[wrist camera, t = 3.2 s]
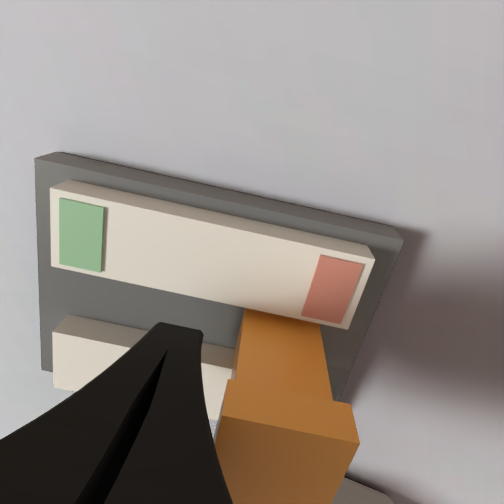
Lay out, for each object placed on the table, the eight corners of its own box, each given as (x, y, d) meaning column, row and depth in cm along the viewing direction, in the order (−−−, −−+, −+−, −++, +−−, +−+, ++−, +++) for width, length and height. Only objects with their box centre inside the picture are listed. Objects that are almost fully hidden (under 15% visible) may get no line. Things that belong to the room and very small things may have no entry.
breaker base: (322, 404, 15) (329, 454, 13) (58, 349, 15) (23, 391, 13) (392, 226, 12) (417, 256, 10) (56, 151, 12) (9, 165, 10)
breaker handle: (306, 368, 13) (322, 521, 8) (228, 352, 13) (201, 496, 8) (327, 307, 12) (359, 443, 7) (242, 288, 12) (221, 415, 7)
